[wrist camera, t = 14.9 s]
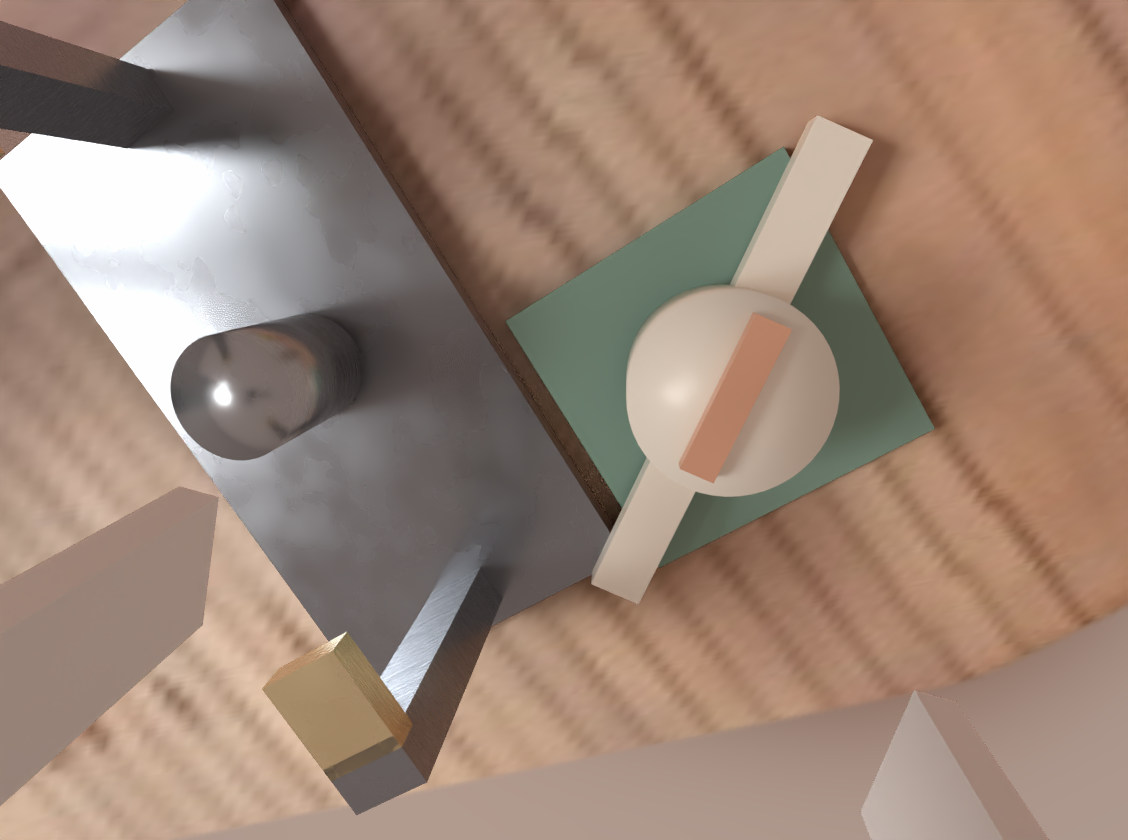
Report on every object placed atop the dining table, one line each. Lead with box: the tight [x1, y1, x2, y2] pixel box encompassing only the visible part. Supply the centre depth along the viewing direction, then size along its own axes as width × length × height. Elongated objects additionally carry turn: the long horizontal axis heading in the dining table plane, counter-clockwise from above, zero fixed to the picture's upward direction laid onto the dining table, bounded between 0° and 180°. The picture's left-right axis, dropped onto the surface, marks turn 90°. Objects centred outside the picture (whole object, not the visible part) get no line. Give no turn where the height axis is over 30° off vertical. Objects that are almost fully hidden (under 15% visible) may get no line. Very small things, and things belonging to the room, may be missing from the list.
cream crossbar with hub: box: [591, 115, 873, 604], centre depth 30 cm, size 22×8×6 cm, turn 157°
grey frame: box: [0, 0, 613, 815], centre depth 29 cm, size 31×16×14 cm, turn 32°
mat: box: [505, 147, 935, 568], centre depth 33 cm, size 14×14×1 cm
